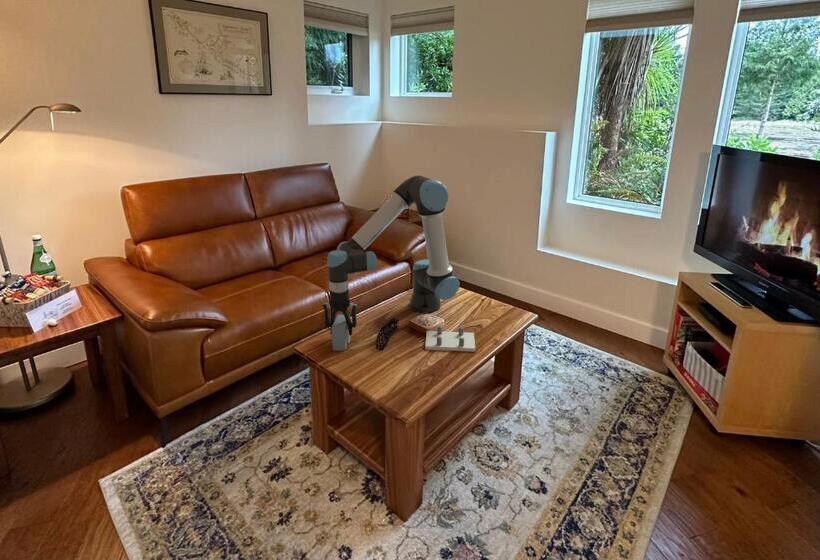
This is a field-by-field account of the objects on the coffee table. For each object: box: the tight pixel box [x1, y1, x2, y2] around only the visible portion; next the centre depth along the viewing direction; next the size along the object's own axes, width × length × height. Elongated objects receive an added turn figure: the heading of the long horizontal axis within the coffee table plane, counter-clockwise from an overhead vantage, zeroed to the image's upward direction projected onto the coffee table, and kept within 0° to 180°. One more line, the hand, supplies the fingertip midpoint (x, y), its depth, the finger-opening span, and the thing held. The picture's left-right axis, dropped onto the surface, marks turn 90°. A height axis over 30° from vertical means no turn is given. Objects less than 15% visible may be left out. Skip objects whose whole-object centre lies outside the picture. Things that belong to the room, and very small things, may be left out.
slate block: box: [331, 314, 352, 351], centre depth 191 cm, size 12×5×10 cm, turn 176°
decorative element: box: [375, 317, 400, 351], centre depth 196 cm, size 22×5×6 cm, turn 166°
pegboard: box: [424, 325, 476, 353], centre depth 192 cm, size 20×13×4 cm, turn 86°
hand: (341, 341), depth 192 cm, fingers closed on slate block, 5 cm apart
